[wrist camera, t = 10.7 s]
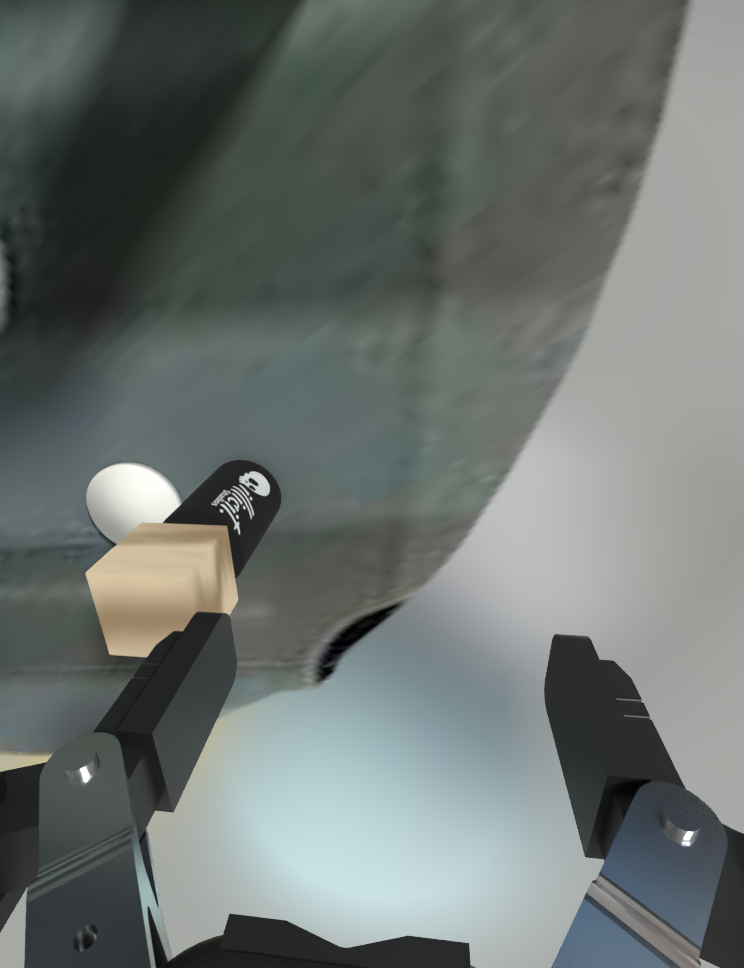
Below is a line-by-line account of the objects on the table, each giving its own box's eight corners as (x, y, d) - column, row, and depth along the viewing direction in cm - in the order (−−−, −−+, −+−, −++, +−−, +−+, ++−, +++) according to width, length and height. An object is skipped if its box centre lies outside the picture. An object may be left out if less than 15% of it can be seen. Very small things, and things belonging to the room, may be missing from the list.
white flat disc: (82, 460, 46) (75, 464, 45) (175, 463, 45) (170, 467, 44) (105, 544, 49) (99, 549, 48) (191, 548, 48) (186, 554, 48)
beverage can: (297, 491, 45) (255, 564, 34) (254, 534, 47) (202, 616, 36) (241, 442, 43) (178, 502, 32) (199, 489, 46) (128, 560, 35)
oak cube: (141, 522, 33) (85, 572, 28) (227, 525, 33) (187, 577, 27) (158, 595, 36) (109, 654, 30) (238, 599, 35) (203, 661, 30)
